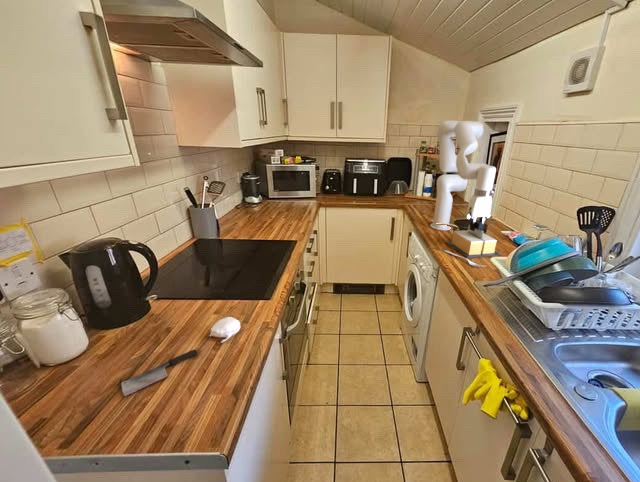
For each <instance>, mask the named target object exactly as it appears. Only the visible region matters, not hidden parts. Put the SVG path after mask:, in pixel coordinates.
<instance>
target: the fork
mask: <svg viewBox="0 0 640 482" xmlns="http://www.w3.org/2000/svg"><path fill="white" fill-rule="evenodd" d="M443 252H445V253H447V254H449V255H453V256H455V257H458V258H461V259H464V260H466V261H467V262H468V264H469V265H470V266H472V267H477V268H478V267H479V268H480V267H481V268H482V267H483V268H484V267H487V265H486V264H485V265H484V264H479V263H476V262H473V261H471V260H470V259H469V258H466V257H465V256H462V255H458V254H456V253H454V252H452V251H449V250H447V249H443Z"/></svg>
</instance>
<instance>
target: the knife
mask: <svg viewBox="0 0 640 482" xmlns="http://www.w3.org/2000/svg"><path fill="white" fill-rule="evenodd" d="M475 223H476V226H475V231H472V230H470V224H471V222H470V220H469V222H468V227H467V230H468V231H467V232H468V233H470V234H472V235H474V236H475V237H477V238H479V239H481V240H482V237H483V233H485V232H484V229H485V226H486V225H485V222H484V223H482V222H480V221H479V219H476V221H475Z"/></svg>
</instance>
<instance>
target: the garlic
mask: <svg viewBox="0 0 640 482" xmlns="http://www.w3.org/2000/svg"><path fill="white" fill-rule="evenodd" d="M240 330H241V321H239V320H238V319H236V318H235V317H232V316H226V317H223V318H221V319H219V320H218V321H216V322H215V323H214V324H213V325H212V327H210V334H208V337H209V338H211V337H215V338H223V339H221V340H220V343H221V344H222V343H224V342H226V341H228V340H229V339H230V338H231V337H232V336H235V335H236V334H238V332H239V331H240Z"/></svg>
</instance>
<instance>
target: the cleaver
mask: <svg viewBox="0 0 640 482" xmlns="http://www.w3.org/2000/svg"><path fill="white" fill-rule="evenodd" d="M197 354H198V351H197V349H196V348H195V349H191V350H190V351H187V352H185V353H183V354H181V355H178V356H176V357H172V358H171V359H169V360H167V362H165V363H163V364H161V365H159V366H155V367H154V368H151V369H149V370H147V371H144V372H143V373H141V374H138V375H136V376H133V377H132V378H129V379H127V380H124V381H122V382H121V385H120V386H121V391H122V394H123V396H124V397H127V396H129V395H131V394H133V393H136V392H138V391H139V390H142V389H144V388H146V387H148V386H150V385H152V384H154V383H157V382H158V381H161V380H163V379H165V378H168V376H169V375H168V373H167V371H166V367H168V366H170V367H171V366H174V365H176V364H179V363H181V362H183V361H184V360H187V359H189V358H191V357H193V356H195V355H197Z"/></svg>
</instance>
